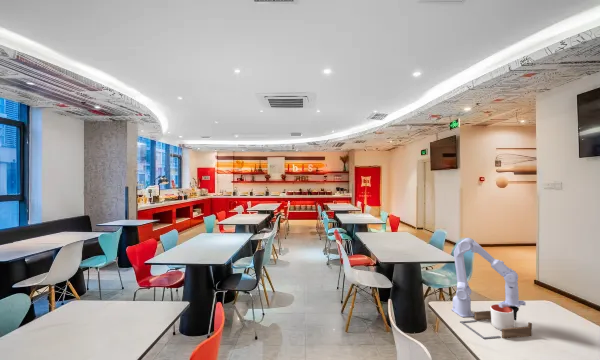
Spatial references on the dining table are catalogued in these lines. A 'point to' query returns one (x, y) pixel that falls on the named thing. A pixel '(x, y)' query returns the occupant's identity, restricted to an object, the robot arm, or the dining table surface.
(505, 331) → the wooden pieces
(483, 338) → the bracket
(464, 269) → the robot arm
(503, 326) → the cup
